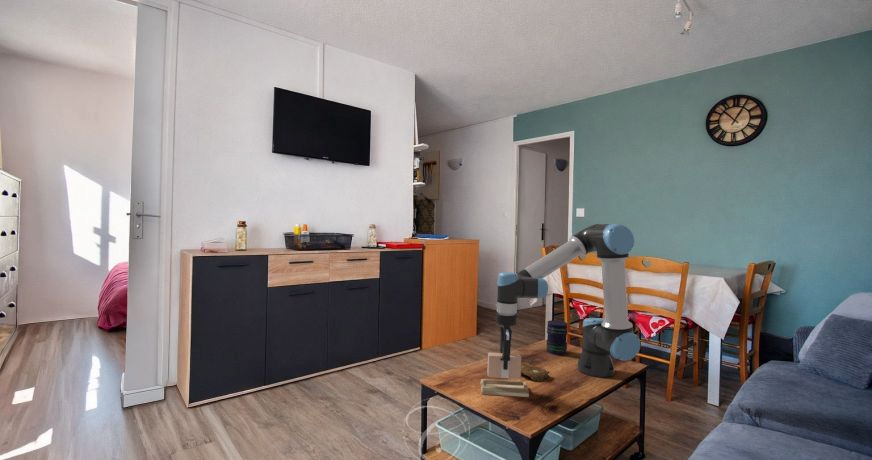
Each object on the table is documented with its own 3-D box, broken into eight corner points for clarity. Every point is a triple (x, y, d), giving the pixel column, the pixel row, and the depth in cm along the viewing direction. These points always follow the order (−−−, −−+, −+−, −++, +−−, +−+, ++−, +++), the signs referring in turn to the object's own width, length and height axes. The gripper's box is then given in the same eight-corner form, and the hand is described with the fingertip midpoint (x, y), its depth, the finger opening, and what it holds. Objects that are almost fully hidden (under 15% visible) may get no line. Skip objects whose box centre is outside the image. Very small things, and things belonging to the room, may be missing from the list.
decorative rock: (507, 373, 166) (537, 386, 155) (507, 364, 166) (538, 376, 155) (522, 366, 174) (552, 377, 163) (522, 357, 174) (553, 368, 163)
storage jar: (550, 355, 191) (551, 325, 191) (543, 349, 200) (544, 320, 200) (570, 355, 191) (571, 325, 191) (562, 349, 201) (563, 320, 201)
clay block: (518, 375, 149) (519, 354, 149) (520, 379, 145) (521, 357, 145) (487, 372, 150) (488, 352, 150) (488, 376, 146) (489, 355, 146)
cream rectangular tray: (480, 383, 153) (480, 377, 153) (524, 385, 152) (524, 380, 152) (482, 394, 143) (482, 388, 143) (528, 396, 142) (529, 391, 142)
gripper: (494, 308, 156) (492, 366, 157) (498, 318, 139) (496, 383, 139) (513, 309, 156) (510, 367, 156) (520, 319, 139) (517, 384, 139)
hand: (503, 374), depth 148 cm, fingers closed on clay block, 4 cm apart
